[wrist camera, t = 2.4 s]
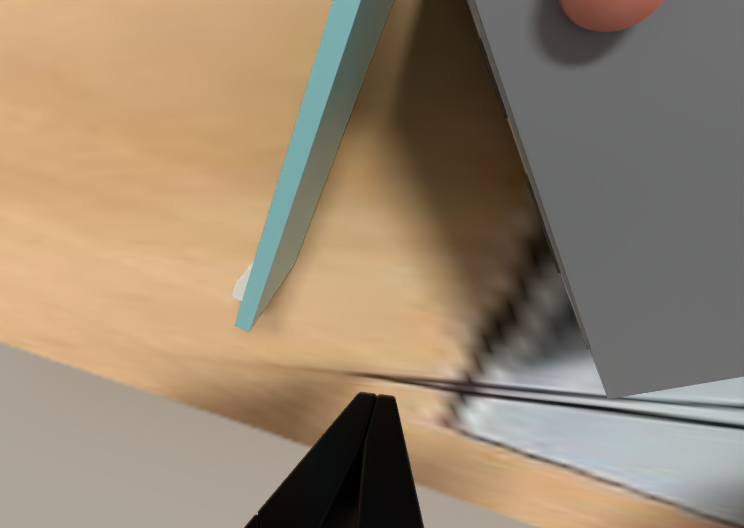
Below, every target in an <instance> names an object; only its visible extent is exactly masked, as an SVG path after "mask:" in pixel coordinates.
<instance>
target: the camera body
mask: <svg viewBox="0 0 744 528" xmlns="http://www.w3.org/2000/svg"><path fill="white" fill-rule="evenodd" d="M467 2H468V5H469V8H470V11H471V14H472V17H473V20H474V23H475V26H476V29H477V32H478V35H479V38H477V39H478V42H479V45H480V48H481V51H482V54H483V57H484V59H485V62H486V65H487V68H488V71H489V74H490V77H491V80H492V83H493V86H494V88H495V91H496V94H497V97H498V100H499V103H500V106H501V109H502V112H503V114H504V117H505V119H507V120H508V122H509V125H510V128H511V131H512V134H513V137H514V140H515V143H516V146H517V149H518V152H519V155H520V158H521V161H522V163H523V166H524V169H525V172H526V174H524V176H525V179H526V182H527V184H528V187H529V190H530V193H531V196H532V199H533V202H534V205H535V208H536V211H537V214H538V216H539V219H540V222H541V225H542V228H543V231H544V234H545V237H546V240H547V243H548V245H549V248H550V251H551V254H552V257H553V260H554V263H555V266H556V268H557V271H558V273H560V275H561V278H562V280H563V283H564V286H565V288H566V291H567V294H568V297H569V299H570V302H571V305H572V308H573V310H574V313H575V316H576V319H577V321H578V324H579V327H580V329H581V332H582V335H583V338H584V340H585V343H586V346H587V349H590V352H591V354H592V357H593V360H594V363H595V365H596V368H597V371H598V373H599V376H600V379H601V381H602V384H603V387H604V389H605V392H606V395H607V398H608V399H612V398H618V397H624V396H630V395H636V394H642V393H648V392H654V391H660V390H666V389H672V388H678V387H684V386H690V385H695V384H701V383H707V382H713V381H719V380H725V379H731V378H737V377H743V376H744V0H467Z"/></svg>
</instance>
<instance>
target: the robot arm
mask: <svg viewBox="0 0 744 528" xmlns="http://www.w3.org/2000/svg"><path fill="white" fill-rule="evenodd" d="M244 528H424V525H423V520H422V516H421V511H420V507H419V502H418V498H417V494H416V489H415V484H414V479H413V475H412V470H411V466H410V461H409V457H408V452H407V448H406V443H405V439H404V434H403V430H402V425H401V421H400V416H399V412H398V407H397V403H396V399H395V397H394V396H391V395H383V394H379V395H378V396H377V395H376V394H374V393H367V392H360V393H358V394H357V395H356V396H355V397H354V399H353V400H352V401H351V402H350V403H349V405H348V406H347V407H346V408H345V409H344V410H343V412H342V413H341V414H340V415H339V416H338V418H337V419H336V420H335V421H334V422H333V423H332V425H331V426H330V427H329V428H328V429H327V431H326V432H325V433H324V434H323V435H322V436H321V438H320V439H319V440H318V441H317V442H316V444H315V445H314V446H313V447H312V448H311V449H310V451H309V452H308V453H307V454H306V456H305V457H304V458H303V459H302V460H301V461H300V462H299V464H298V465H297V466H296V467H295V468H294V469H293V471H292V472H291V473H290V474H289V476H288V477H287V478H286V479H285V480H284V481H283V483H282V484H281V485H280V486H279V487H278V489H277V490H276V491H275V492H274V493H273V494H272V496H271V497H270V498H269V499H268V500H267V501H266V503H265V504H264V505H263V506H262V507H261V509H260V510H259V511H258V515H254V517H253V518H252V519H251V520H250V521H249V522H248V524H247V525H246V526H245V527H244Z"/></svg>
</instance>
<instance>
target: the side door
mask: <svg viewBox="0 0 744 528" xmlns="http://www.w3.org/2000/svg"><path fill="white" fill-rule="evenodd" d="M392 3H393V0H333V2H332V6H331V9H330V12H329V15H328V19H327V22H326V25H325V29H324V32H323V35H322V39H321V42H320V45H319V48H318V52H317V55H316V58H315V62H314V65H313V68H312V71H311V75H310V78H309V81H308V85H307V88H306V91H305V95H304V98H303V101H302V104H301V108H300V111H299V114H298V118H297V121H296V124H295V127H294V131H293V134H292V137H291V141H290V144H289V147H288V151H287V154H286V157H285V160H284V164H283V167H282V170H281V174H280V177H279V180H278V183H277V187H276V190H275V193H274V197H273V200H272V203H271V206H270V210H269V213H268V216H267V220H266V223H265V226H264V230H263V233H262V236H261V239H260V243H259V246H258V249H257V253H256V256H255V259H254V261H253V263H252V264H251V265H250V266H249V267H248V269H247V270H246V271H245V272H244V274H243V275H242V276H241V277H240V278H239V280H238V281H237V282H236V283H235V286H234V289H233V293H232V296H231V297H233V298H236V299H238V300H240V301H242V302H241V305H240V309H239V312H238V315H237V318H236V322H235V325H234V326H236V327H238V328H241V329H243V330H245V331H247V332H250V330H251V329H252V327H253V326H254V324H255V323H256V321H257V320H258V318H259V317H260V315H261V314H262V312H263V311H264V309H265V307H266V306H267V304H268V303H269V301H270V300H271V298H272V297H273V295H274V294H275V292H276V291H277V289H278V288H279V286H280V285H281V283H282V282H283V280H284V279H285V277H286V276H287V274H288V273H289V271H290V270H291V268H292V267H293V265H294V264H295V261H296V259H297V256H298V253H299V251H300V248H301V245H302V243H303V240H304V237H305V235H306V232H307V229H308V227H309V224H310V221H311V219H312V216H313V213H314V211H315V208H316V205H317V203H318V200H319V197H320V195H321V192H322V189H323V187H324V184H325V181H326V179H327V176H328V173H329V171H330V168H331V165H332V163H333V160H334V157H335V155H336V152H337V149H338V147H339V144H340V141H341V139H342V136H343V133H344V131H345V128H346V125H347V123H348V120H349V117H350V115H351V112H352V109H353V107H354V104H355V101H356V99H357V96H358V93H359V91H360V88H361V85H362V83H363V80H364V77H365V75H366V72H367V69H368V67H369V64H370V61H371V59H372V56H373V53H374V51H375V48H376V46H377V43H378V40H379V38H380V35H381V32H382V30H383V27H384V24H385V22H386V19H387V16H388V14H389V11H390V8H391V6H392Z"/></svg>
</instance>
